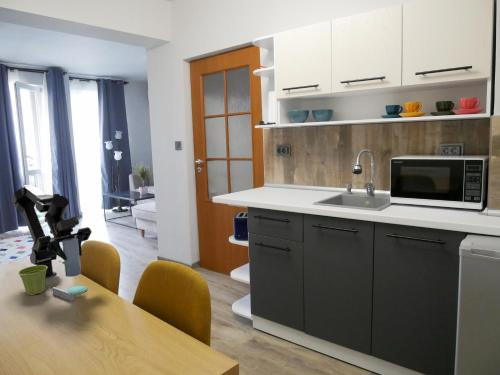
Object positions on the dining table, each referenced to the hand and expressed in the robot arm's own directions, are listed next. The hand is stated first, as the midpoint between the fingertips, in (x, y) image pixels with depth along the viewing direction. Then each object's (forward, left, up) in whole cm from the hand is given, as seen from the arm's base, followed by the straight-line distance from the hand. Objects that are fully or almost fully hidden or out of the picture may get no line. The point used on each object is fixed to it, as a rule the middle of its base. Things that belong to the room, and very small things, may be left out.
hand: (73, 257), depth 137 cm
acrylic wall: (0, -5, -13) cm, 14 cm away
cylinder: (-1, 0, -7) cm, 7 cm away
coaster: (-1, 0, -13) cm, 13 cm away
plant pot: (-14, -8, -13) cm, 21 cm away
